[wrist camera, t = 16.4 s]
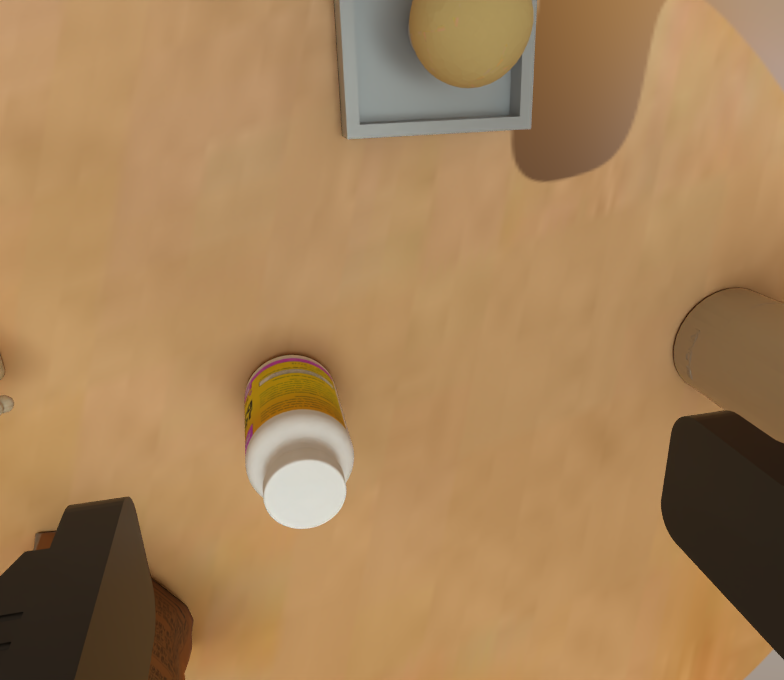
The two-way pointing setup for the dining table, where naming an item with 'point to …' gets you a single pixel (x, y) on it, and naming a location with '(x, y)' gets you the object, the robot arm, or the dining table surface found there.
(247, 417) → the supplement bottle
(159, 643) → the pancake mix bag
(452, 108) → the tray
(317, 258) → the dining table surface
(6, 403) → the grandmother figurine
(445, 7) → the light bulb
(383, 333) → the dining table surface
